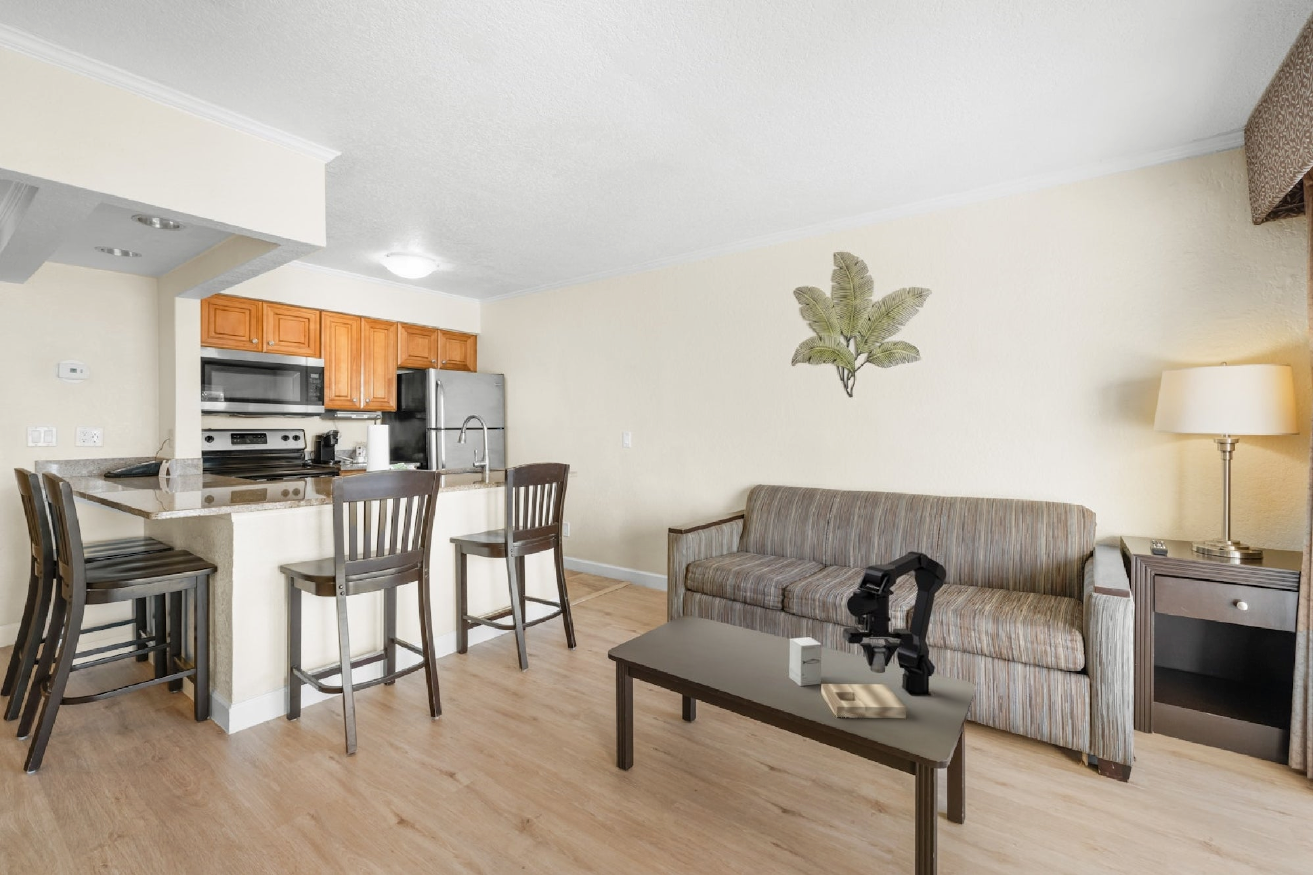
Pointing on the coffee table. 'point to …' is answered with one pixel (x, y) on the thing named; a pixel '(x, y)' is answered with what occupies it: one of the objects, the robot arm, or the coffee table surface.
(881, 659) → the flared metal knob
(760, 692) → the coffee table surface
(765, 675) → the coffee table surface
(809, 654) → the supplement box
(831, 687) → the plate
